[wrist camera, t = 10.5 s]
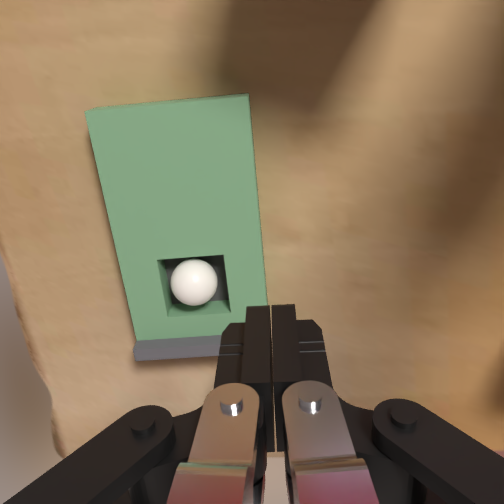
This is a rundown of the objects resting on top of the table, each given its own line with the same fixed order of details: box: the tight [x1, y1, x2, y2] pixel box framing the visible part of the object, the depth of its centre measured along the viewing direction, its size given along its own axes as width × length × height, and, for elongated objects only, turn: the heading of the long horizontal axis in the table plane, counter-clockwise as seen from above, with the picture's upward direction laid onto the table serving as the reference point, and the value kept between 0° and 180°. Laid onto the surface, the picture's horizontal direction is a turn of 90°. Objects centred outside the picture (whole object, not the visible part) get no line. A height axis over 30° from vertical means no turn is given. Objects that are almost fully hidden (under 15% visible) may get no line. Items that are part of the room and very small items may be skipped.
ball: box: [171, 259, 218, 306], centre depth 39 cm, size 4×4×4 cm
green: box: [85, 93, 268, 361], centre depth 35 cm, size 22×12×11 cm, turn 5°
